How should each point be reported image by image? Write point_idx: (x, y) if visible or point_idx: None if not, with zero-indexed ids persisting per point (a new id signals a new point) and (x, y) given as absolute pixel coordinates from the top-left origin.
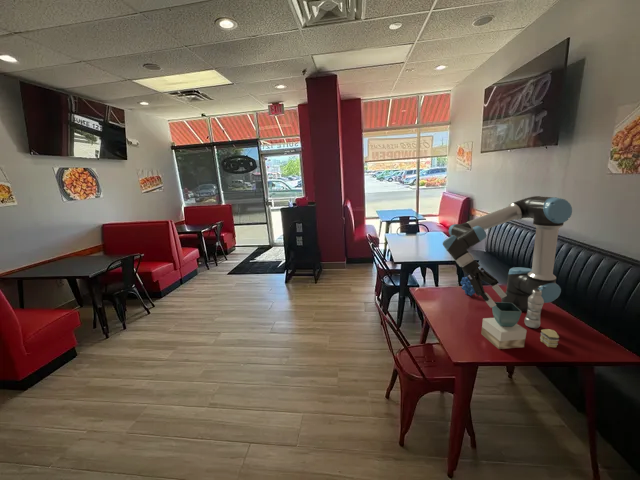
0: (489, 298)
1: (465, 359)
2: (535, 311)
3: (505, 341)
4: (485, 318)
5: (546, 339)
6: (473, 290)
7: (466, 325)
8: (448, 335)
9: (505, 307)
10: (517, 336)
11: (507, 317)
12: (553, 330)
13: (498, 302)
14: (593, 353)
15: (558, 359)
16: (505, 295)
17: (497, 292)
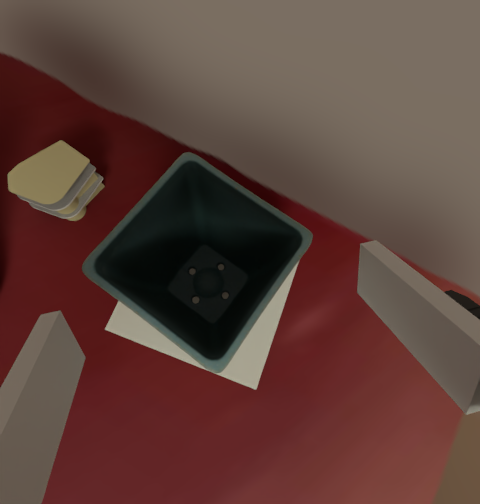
0: (435, 293)
1: (460, 293)
2: None
3: None
4: (240, 381)
5: (83, 187)
6: None
7: (235, 480)
8: (401, 457)
9: (138, 299)
10: None
11: (256, 226)
12: (9, 175)
13: (176, 334)
14: (24, 100)
15: (162, 139)
16: (59, 320)
17: (60, 416)
